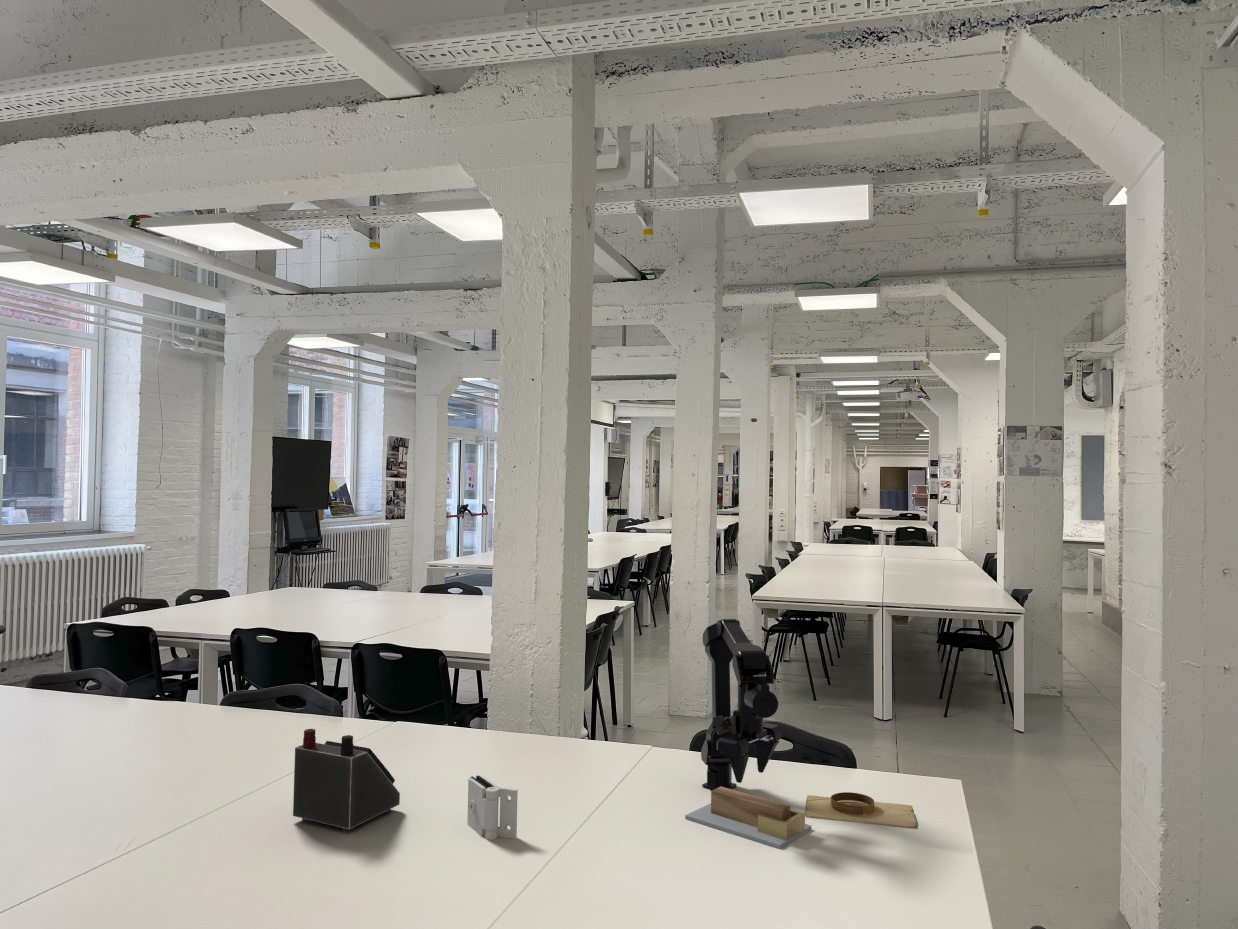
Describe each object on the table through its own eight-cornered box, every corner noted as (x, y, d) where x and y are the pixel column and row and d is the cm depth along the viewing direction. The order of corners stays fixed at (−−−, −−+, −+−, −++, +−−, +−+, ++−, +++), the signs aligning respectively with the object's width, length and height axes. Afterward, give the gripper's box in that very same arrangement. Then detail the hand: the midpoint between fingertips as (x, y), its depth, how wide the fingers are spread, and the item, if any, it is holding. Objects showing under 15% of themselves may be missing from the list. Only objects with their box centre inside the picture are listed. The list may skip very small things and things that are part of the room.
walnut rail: (720, 808, 193) (720, 786, 193) (790, 829, 181) (790, 805, 181) (710, 813, 190) (711, 790, 190) (781, 834, 178) (781, 810, 178)
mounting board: (719, 802, 199) (719, 799, 199) (811, 829, 183) (811, 825, 183) (685, 819, 188) (685, 815, 188) (779, 849, 172) (779, 845, 173)
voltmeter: (400, 810, 191) (402, 722, 192) (349, 836, 176) (351, 740, 177) (346, 798, 198) (348, 713, 198) (292, 822, 183) (295, 730, 184)
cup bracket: (776, 821, 185) (776, 805, 186) (804, 829, 181) (805, 813, 181) (757, 831, 179) (757, 815, 179) (786, 840, 175) (786, 823, 175)
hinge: (517, 838, 176) (518, 790, 177) (497, 845, 172) (498, 796, 173) (478, 819, 186) (479, 774, 186) (458, 826, 182) (459, 779, 182)
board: (802, 820, 190) (803, 805, 190) (804, 797, 205) (804, 784, 205) (918, 832, 184) (918, 817, 184) (911, 807, 199) (911, 794, 199)
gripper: (741, 693, 199) (741, 760, 198) (696, 707, 184) (696, 779, 184) (783, 701, 191) (783, 770, 191) (740, 716, 177) (739, 791, 176)
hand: (750, 777), depth 186 cm, fingers open, 9 cm apart
